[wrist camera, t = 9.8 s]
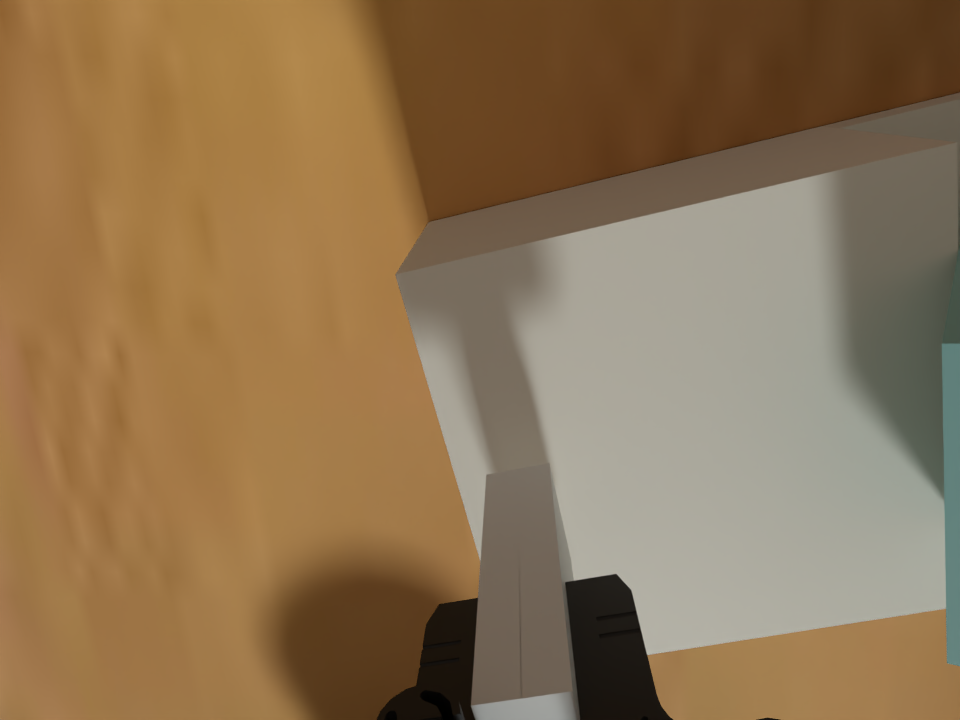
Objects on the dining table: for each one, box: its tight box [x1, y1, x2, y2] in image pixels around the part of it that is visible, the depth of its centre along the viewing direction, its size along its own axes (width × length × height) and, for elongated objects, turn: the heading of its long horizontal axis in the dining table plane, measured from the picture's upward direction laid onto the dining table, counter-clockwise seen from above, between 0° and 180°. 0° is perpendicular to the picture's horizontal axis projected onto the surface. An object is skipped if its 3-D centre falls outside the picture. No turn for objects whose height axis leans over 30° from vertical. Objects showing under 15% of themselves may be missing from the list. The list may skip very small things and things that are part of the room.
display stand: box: [395, 93, 960, 655], centre depth 16 cm, size 23×12×14 cm, turn 104°
